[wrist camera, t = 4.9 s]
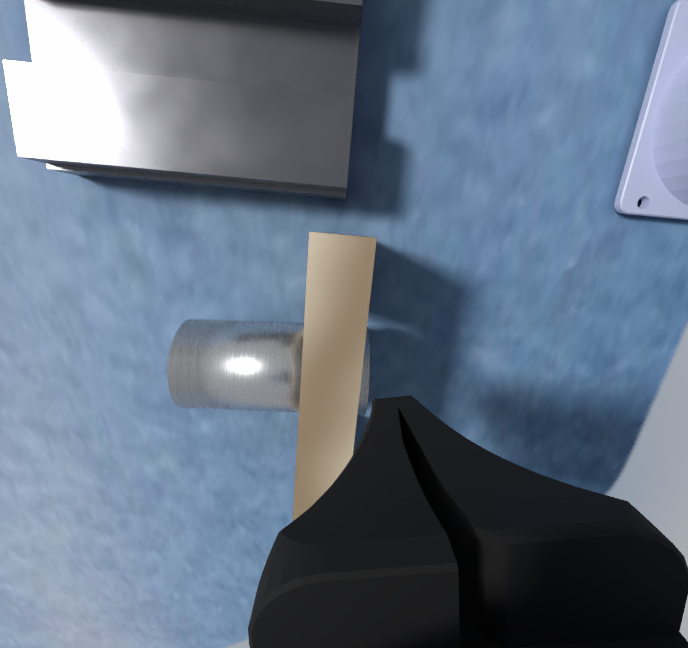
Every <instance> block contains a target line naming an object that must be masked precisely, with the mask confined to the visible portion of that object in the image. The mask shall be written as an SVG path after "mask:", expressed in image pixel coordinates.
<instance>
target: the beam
mask: <svg viewBox="0 0 688 648" xmlns="http://www.w3.org/2000/svg"><path fill="white" fill-rule="evenodd" d="M376 241H377V238H373V237H365V236H354V235H343V234H332V233H321V232H309V248H308V266H307V283H306V300H305V317H304V334H303V352H302V369H301V386H300V403H299V420H298V438H297V455H296V472H295V489H294V506H293V521H294V520H295V519H296V518H298V517H299V516H300V515H302V514H303V513H304V512H305V511H307V510H308V509H309V508H310V507H311V506H312V505H313V504H314V503H315V502H316V501H317V500H318V499H319V498H320V497H321V496H322V495H323V494H324V493H325V492H326V491H327V490H328V489H329V487H330V486H331V485H332V484H333V483H334V481H335V480H336V479H337V478H338V476H339V475H340V474H341V472H342V471H343V470H344V468H345V467H346V465H347V464H348V462H349V461H350V459H351V458H352V456H353V450H354V440H355V431H356V422H357V413H358V404H359V395H360V386H361V377H362V368H363V359H364V350H365V340H366V331H367V322H368V313H369V304H370V295H371V286H372V277H373V268H374V259H375V250H376Z"/></svg>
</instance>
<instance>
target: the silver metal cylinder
mask: <svg viewBox="0 0 688 648" xmlns="http://www.w3.org/2000/svg"><path fill="white" fill-rule="evenodd" d="M303 334H304V323H279V322H255V321H230V320H206V319H189V320H187V321H185V322H184V323H183V324H182V325H181V326H180V327H179V329H178V330H177V332H176V334H175V336H174V339H173V342H172V345H171V349H170V353H169V359H168V386H169V391H170V394H171V397H172V399H173V401H174V402H175V404H176V405H177V406H179V407H181V408H196V409H224V410H251V411H279V412H299V403H300V386H301V369H302V352H303ZM369 379H370V338H369V329H368V326H367V331H366V340H365V350H364V359H363V368H362V377H361V386H360V395H359V404H358V413H357V414H362V415H365V414H366V410H367V404H368V394H369Z"/></svg>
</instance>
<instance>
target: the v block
mask: <svg viewBox="0 0 688 648" xmlns="http://www.w3.org/2000/svg"><path fill="white" fill-rule="evenodd" d="M24 3H25V11H26V18H27V25H28V33H29V40H30V47H31V55H32V62H33V63H30V62H20V61H10V60H3V65H4V72H5V78H6V84H7V91H8V97H9V104H10V110H11V117H12V123H13V129H14V136H15V142H16V149H17V155H18V157H22V158H26V159H31V160H35V161H39V162H43V163H46V165H47V169H51V170H55V171H60V172H64V173H69V174H74V175H81V176H91V177H102V178H113V179H123V180H134V181H145V182H156V183H166V184H177V185H188V186H198V187H209V188H220V189H230V190H241V191H252V192H262V193H273V194H284V195H294V196H305V197H316V198H326V199H337V200H346V193H347V181H348V170H349V158H350V146H351V134H352V122H353V110H354V98H355V85H356V74H357V62H358V50H359V38H360V26H361V14H362V3H363V0H24Z"/></svg>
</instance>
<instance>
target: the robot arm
mask: <svg viewBox="0 0 688 648" xmlns="http://www.w3.org/2000/svg"><path fill="white" fill-rule="evenodd" d="M639 199H641V200H642V203H641V206H640V207H639V208H638V206H637V202H638V200H639ZM614 206H615V209H616V211H617V212H618V213H621V214H629V215H639V216H650V217H661V218H671V219H682V220H688V0H677V1H676V2H675V3H674V4H673V5H672V6H671V8H670V10H669V13H668V16H667V20H666V23H665V27H664V30H663V34H662V37H661V41H660V44H659V48H658V51H657V55H656V58H655V62H654V65H653V69H652V72H651V76H650V79H649V83H648V86H647V90H646V93H645V97H644V100H643V104H642V107H641V111H640V114H639V118H638V121H637V125H636V129H635V132H634V136H633V139H632V143H631V146H630V150H629V153H628V157H627V160H626V164H625V167H624V171H623V174H622V178H621V181H620V185H619V188H618V192H617V195H616V199H615V204H614ZM687 595H688V567H687V564H686V561H685V558H684V556H683V555H682V554H681V552H680V551H679V550H678V549H677V548H676V547H675V545H674V544H673V543H672V542H670V540H668V538H666V537H665V536H664V535H663V534H662V533H661V532H660V531H659V530H658V529H657V528H656V527H655V526H654V525H653V524H652V523H651V522H650V521H649V520H647V519H646V518H645V517H644V516H643V515H642V514H641V513H640V512H639V511H638V510H637V509H636V508H634V507H633V506H632V505H631V504H630V503H629V502H627V501H624V500H620V499H617V498H614V497H610V496H606V495H603V494H599V493H596V492H592V491H588V490H585V489H581V488H578V487H575V486H571V485H568V484H566V483H563V482H560V481H557V480H554V479H551V478H548V477H546V476H543V475H540V474H538V473H535V472H533V471H530V470H528V469H525V468H523V467H521V466H519V465H516V464H514V463H512V462H510V461H507V460H505V459H503V458H501V457H499V456H497V455H495V454H493V453H491V452H489V451H487V450H486V449H484V448H482V447H480V446H478V445H477V444H475V443H473V442H472V441H470V440H468V439H467V438H465V437H464V436H462V435H461V434H459V433H458V432H456V431H455V430H453V429H452V428H450V427H449V426H448V425H446V424H445V423H443V422H442V421H441V420H440V419H438V418H437V417H436V416H434V415H433V414H432V413H431V412H430V411H429V410H427V409H426V408H425V407H424V406H423V405H422V404H420V403H419V402H418V401H417V400H416V399H415V398H413V397H412V396H403V397H392V398H382V399H375V400H374V401H373V402H372V411H371V415H370V419H369V422H368V424H367V427H366V430H365V432H364V435H363V437H362V439H361V441H360V443H359V445H358V447H357V449H356V451H355V452H354V454H353V456H352V458H351V459H350V461H349V462H348V464H347V465H346V467H345V468H344V470H343V471H342V472H341V474H340V475H339V476H338V478H337V479H336V480H335V481H334V483H333V484H332V485H331V486H330V487H329V489H328V490H327V491H326V492H325V493H324V494H323V495H322V496H321V497H320V498H319V499H318V500H317V501H316V502H315V503H314V504H313V505H312V506H311V507H310V508H309V509H308V510H307V511H305V512H304V513H303V514H302V515H300V516H299V517H298V518H296V519H295V520H294V521H293V522H291V523H290V524H289V525H288V526H286V527H285V528H284V529H282V530H281V531H280V532H279V533H278V535H277V537H276V540H275V542H274V544H273V547H272V549H271V551H270V554H269V556H268V559H267V562H266V565H265V567H264V570H263V573H262V576H261V579H260V582H259V585H258V589H257V593H256V597H255V602H254V606H253V610H252V614H251V619H250V623H249V627H248V633H249V645H250V648H688V642H687V641H686V639H685V638H684V637H683V636H682V635H681V633H680V632H679V630H680V626H681V621H682V617H683V613H684V608H685V603H686V600H687Z"/></svg>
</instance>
